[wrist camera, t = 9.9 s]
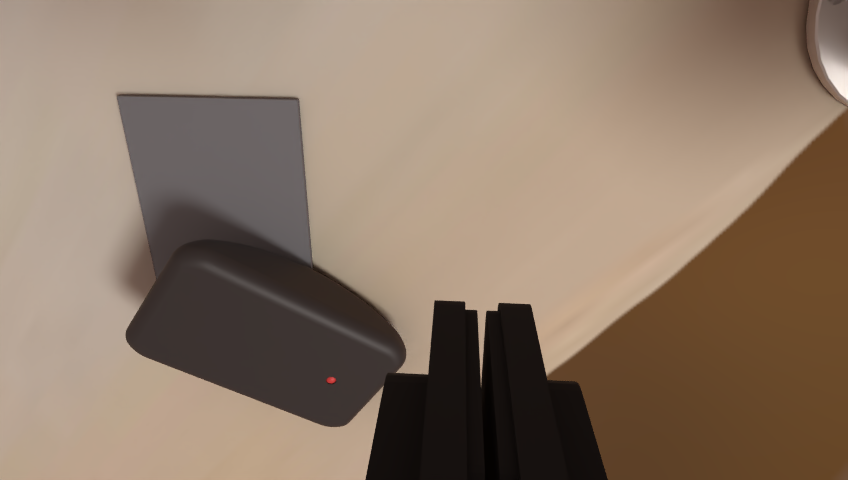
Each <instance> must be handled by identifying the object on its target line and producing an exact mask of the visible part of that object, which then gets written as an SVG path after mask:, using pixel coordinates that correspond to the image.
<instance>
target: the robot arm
mask: <svg viewBox="0 0 848 480" xmlns="http://www.w3.org/2000/svg"><path fill="white" fill-rule="evenodd" d="M806 34H807V49H808V52H809V56H810V59H811V63H812V66H813V69H814V71H815V72H816V74H817V76H818V78H819V80H820V81H821V83H822V85H823V86H824V87H825V88H826V89H827V90H828V91H829V92H830V93H831V94H832V95H833V96H834V97H835V99H837V100H838V101H840V102H842V103H843V104H845V105H846V106H848V0H810V1H809V8H808V15H807V22H806ZM366 480H608V479H607V476H606V472H605V469H604V466H603V462H602V459H601V455H600V452H599V449H598V445H597V442H596V439H595V435H594V432H593V428H592V425H591V421H590V418H589V415H588V411H587V408H586V405H585V401H584V398H583V395H582V391H581V388H580V386H579V384H578V383H577V382H573V381H552V380H547V377H546V372H545V368H544V363H543V358H542V354H541V349H540V344H539V340H538V335H537V331H536V326H535V321H534V317H533V312H532V308H531V305H530V304H510V303H499V305H498V311H487V312H486V322H485V337H484V352H483V367H482V382H481V380H480V359H479V338H478V317H477V310H465V302H460V301H436V300H435V303H434V314H433V326H432V338H431V349H430V361H429V373H428V375H425V374H404V373H387V375H386V378H385V382H384V387H383V393H382V398H381V403H380V408H379V413H378V418H377V423H376V429H375V434H374V439H373V444H372V449H371V454H370V460H369V465H368V470H367V475H366Z"/></svg>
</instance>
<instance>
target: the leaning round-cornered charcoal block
mask: <svg viewBox="0 0 848 480" xmlns="http://www.w3.org/2000/svg"><path fill="white" fill-rule="evenodd" d="M126 340H127V342H128V344H129V345H130V346H131V347H132V348H133V349H134V350H135V351H136V352H137V353H139V354H141V355H142V356H144V357H147V358H149V359H152V360H154V361H157V362H160V363H162V364H165V365H167V366H170V367H172V368H175V369H178V370H180V371H183V372H185V373H188V374H191V375H193V376H196V377H198V378H201V379H204V380H206V381H209V382H211V383H214V384H217V385H219V386H222V387H224V388H227V389H229V390H232V391H235V392H237V393H240V394H242V395H245V396H248V397H250V398H253V399H255V400H258V401H261V402H263V403H266V404H268V405H271V406H274V407H276V408H279V409H281V410H284V411H286V412H289V413H292V414H294V415H297V416H299V417H302V418H305V419H307V420H310V421H312V422H315V423H318V424H320V425H323V426H328V427H340V426H344V425H346V424H348V423H349V422H350V421H351V420H352V419H353V418H354V417H355V416H356V415H357V413H358V412H359V411H360V410H361V409H362V408H363V407H364V406H365V405H366V404H367V403H368V402H369V401H370V400H371V398H372V397H373V396H374V395H375V394H376V393H377V392H378V391H379V390H380V389H381V388H382V387H383V386H384V382H385V378H386V375H387V373H396V372H397V371H398V369H399V368H400V367H401V366H402V365H403V364H404V362H405V359H406V348H405V345H404V343H403V341H402V339H401V337H400V335H399V334H398V333H397V331H396V330H395V329H394V328H393V327H392V326H391V325H390V324H389V323H388V322H387V321H386V320H385V319H384V318H383V317H382V316H381V315H379V314H378V313H377V312H376V311H375V310H374V309H372V308H371V307H370V306H369V305H367V304H366V303H365V302H364V301H362V300H361V299H360V298H358V297H357V296H356V295H354V294H353V293H351V292H350V291H348V290H347V289H345V288H344V287H342V286H341V285H339V284H338V283H336V282H334V281H333V280H331V279H329V278H328V277H326V276H324V275H322V274H320V273H318V272H317V271H315V270H313V269H311V268H309V267H307V266H305V265H302V264H300V263H298V262H296V261H294V260H291V259H289V258H286V257H284V256H281V255H278V254H276V253H273V252H270V251H267V250H264V249H260V248H257V247H253V246H249V245H245V244H241V243H236V242H230V241H223V240H213V239H203V240H196V241H192V242H189V243H186V244H184V245H181V246H180V247H178V248H177V249H176V250H175V251H174V252H173V254H172V255H171V257H170V259H169V260H168V262H167V263H166V265H165V267H164V268H163V270H162V272H161V273H160V275H159V277H158V278H157V280H156V282H155V283H154V285H153V287H152V288H151V290H150V292H149V293H148V295H147V297H146V298H145V300H144V301H143V303H142V305H141V306H140V308H139V310H138V311H137V313H136V315H135V316H134V318H133V320H132V321H131V323H130V325H129V326H128V328H127V330H126Z"/></svg>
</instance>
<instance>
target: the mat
mask: <svg viewBox="0 0 848 480" xmlns="http://www.w3.org/2000/svg"><path fill="white" fill-rule="evenodd" d="M117 100H118V104H119V109H120V114H121V118H122V123H123V127H124V132H125V137H126V141H127V146H128V150H129V155H130V160H131V164H132V169H133V173H134V178H135V183H136V187H137V192H138V196H139V201H140V206H141V210H142V215H143V219H144V224H145V229H146V233H147V238H148V242H149V247H150V252H151V256H152V261H153V265H154V270H155V275H156V279H157V278H158V277H159V275H160V273H161V272H162V270H163V268H164V267H165V265H166V263H167V262H168V260H169V259H170V257H171V255H172V254H173V252H174V251H175V250H176V249H177V248H178V247H180V246H181V245H184V244H186V243H189V242H192V241H196V240H203V239H213V240H223V241H230V242H236V243H241V244H245V245H249V246H253V247H257V248H260V249H264V250H267V251H270V252H273V253H276V254H278V255H281V256H284V257H286V258H289V259H291V260H294V261H296V262H298V263H300V264H302V265H305V266H307V267H309V268H311V269H313V263H312V251H311V239H310V227H309V215H308V203H307V191H306V179H305V167H304V155H303V143H302V131H301V119H300V107H299V99H281V98H236V97H190V96H145V95H119V96H117Z"/></svg>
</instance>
